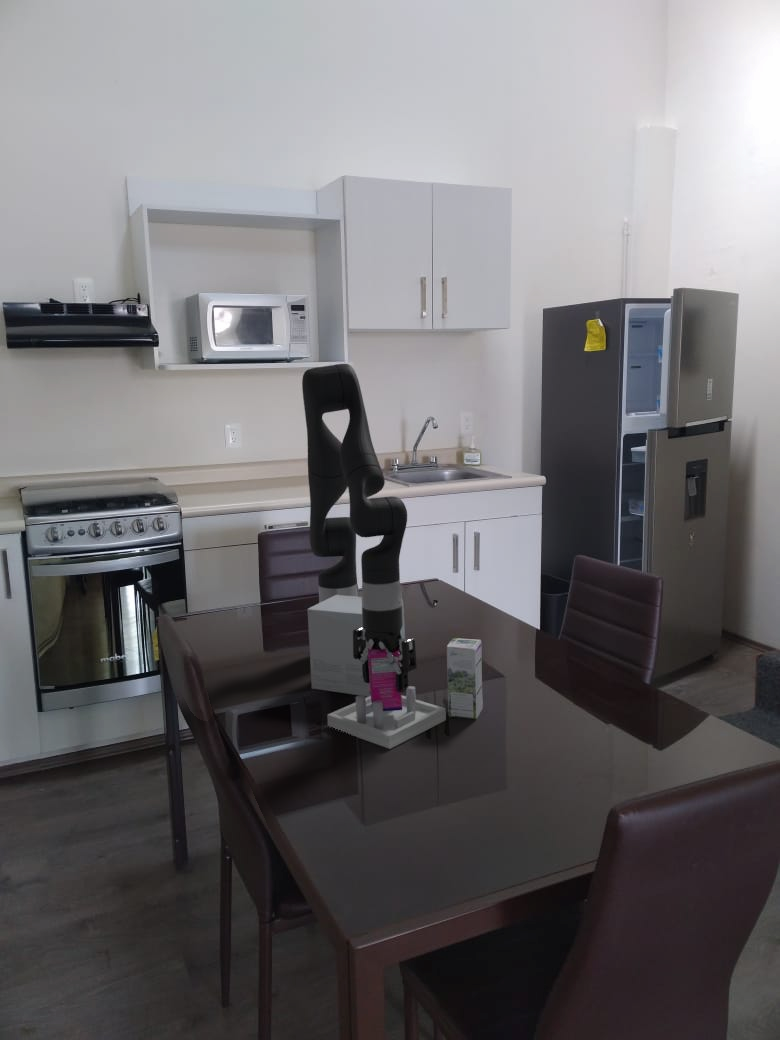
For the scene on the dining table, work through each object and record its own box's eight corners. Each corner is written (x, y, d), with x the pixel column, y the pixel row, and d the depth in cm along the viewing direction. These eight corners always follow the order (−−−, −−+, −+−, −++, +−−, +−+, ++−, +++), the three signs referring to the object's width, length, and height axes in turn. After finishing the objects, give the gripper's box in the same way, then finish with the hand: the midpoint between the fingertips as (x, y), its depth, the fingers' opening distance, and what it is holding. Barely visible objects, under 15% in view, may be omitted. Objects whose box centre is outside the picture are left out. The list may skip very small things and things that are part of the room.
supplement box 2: (369, 701, 162) (367, 644, 160) (400, 699, 162) (397, 642, 160) (371, 712, 156) (368, 654, 154) (403, 710, 157) (400, 652, 155)
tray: (384, 701, 171) (383, 672, 170) (445, 720, 160) (445, 689, 159) (327, 726, 159) (326, 695, 158) (389, 748, 149) (388, 716, 148)
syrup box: (483, 708, 165) (482, 638, 163) (476, 720, 160) (475, 647, 157) (455, 706, 167) (453, 636, 165) (447, 717, 161) (445, 645, 159)
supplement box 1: (408, 678, 184) (405, 598, 181) (382, 700, 172) (379, 615, 169) (339, 669, 191) (335, 592, 188) (309, 689, 179) (305, 608, 176)
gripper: (424, 605, 154) (426, 689, 157) (368, 593, 163) (371, 673, 166) (396, 614, 148) (400, 701, 151) (340, 602, 158) (344, 684, 161)
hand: (385, 686), depth 159 cm, fingers closed on supplement box 2, 8 cm apart
